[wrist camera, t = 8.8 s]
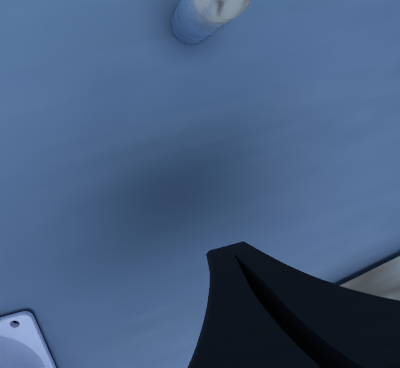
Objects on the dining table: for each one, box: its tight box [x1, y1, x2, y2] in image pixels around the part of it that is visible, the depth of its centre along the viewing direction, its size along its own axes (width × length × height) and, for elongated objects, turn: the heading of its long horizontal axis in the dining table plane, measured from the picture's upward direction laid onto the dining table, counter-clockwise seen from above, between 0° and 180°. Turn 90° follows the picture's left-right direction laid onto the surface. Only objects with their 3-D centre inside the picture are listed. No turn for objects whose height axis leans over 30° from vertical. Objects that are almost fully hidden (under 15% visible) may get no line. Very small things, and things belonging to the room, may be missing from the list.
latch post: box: [171, 0, 251, 45], centre depth 14 cm, size 2×2×7 cm
